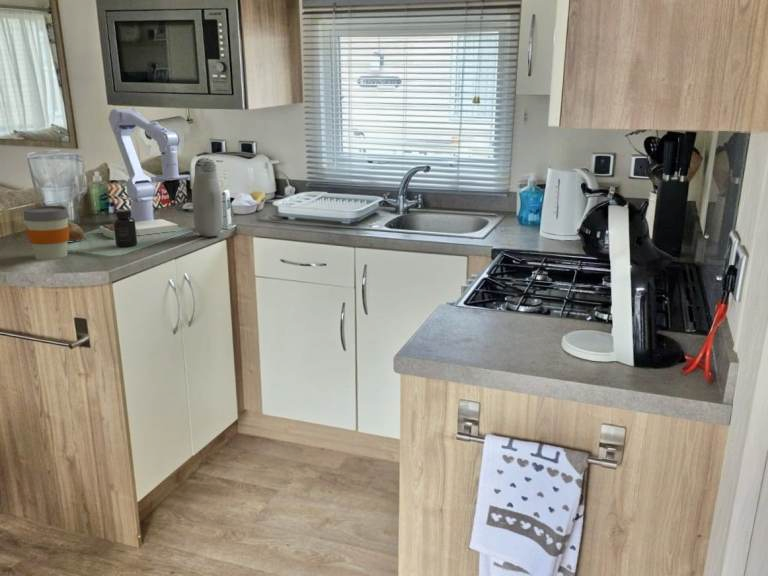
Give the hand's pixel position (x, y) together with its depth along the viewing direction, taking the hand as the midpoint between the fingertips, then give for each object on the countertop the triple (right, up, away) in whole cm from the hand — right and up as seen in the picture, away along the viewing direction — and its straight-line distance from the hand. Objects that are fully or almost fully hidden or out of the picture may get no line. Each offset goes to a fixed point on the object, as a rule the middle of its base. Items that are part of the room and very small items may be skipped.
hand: (172, 200), depth 254 cm
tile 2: (-14, -13, -15) cm, 25 cm away
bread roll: (-29, -17, -21) cm, 40 cm away
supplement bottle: (-7, -19, -28) cm, 34 cm away
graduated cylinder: (+18, -10, +3) cm, 21 cm away
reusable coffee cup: (-24, -23, -44) cm, 55 cm away
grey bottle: (+17, -15, -12) cm, 26 cm away
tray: (-16, -14, -11) cm, 24 cm away
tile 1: (-19, -10, -10) cm, 24 cm away
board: (-7, -12, -3) cm, 14 cm away
